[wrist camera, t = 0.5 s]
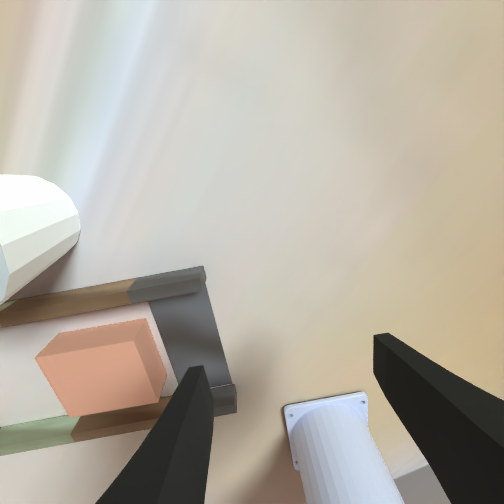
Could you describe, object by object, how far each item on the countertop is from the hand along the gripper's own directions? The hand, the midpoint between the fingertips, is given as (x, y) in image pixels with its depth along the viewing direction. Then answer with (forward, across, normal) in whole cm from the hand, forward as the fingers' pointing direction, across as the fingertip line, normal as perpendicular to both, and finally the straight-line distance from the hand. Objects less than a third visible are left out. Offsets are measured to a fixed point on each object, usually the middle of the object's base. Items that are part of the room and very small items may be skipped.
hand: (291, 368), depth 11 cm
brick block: (+10, +13, +5) cm, 17 cm away
